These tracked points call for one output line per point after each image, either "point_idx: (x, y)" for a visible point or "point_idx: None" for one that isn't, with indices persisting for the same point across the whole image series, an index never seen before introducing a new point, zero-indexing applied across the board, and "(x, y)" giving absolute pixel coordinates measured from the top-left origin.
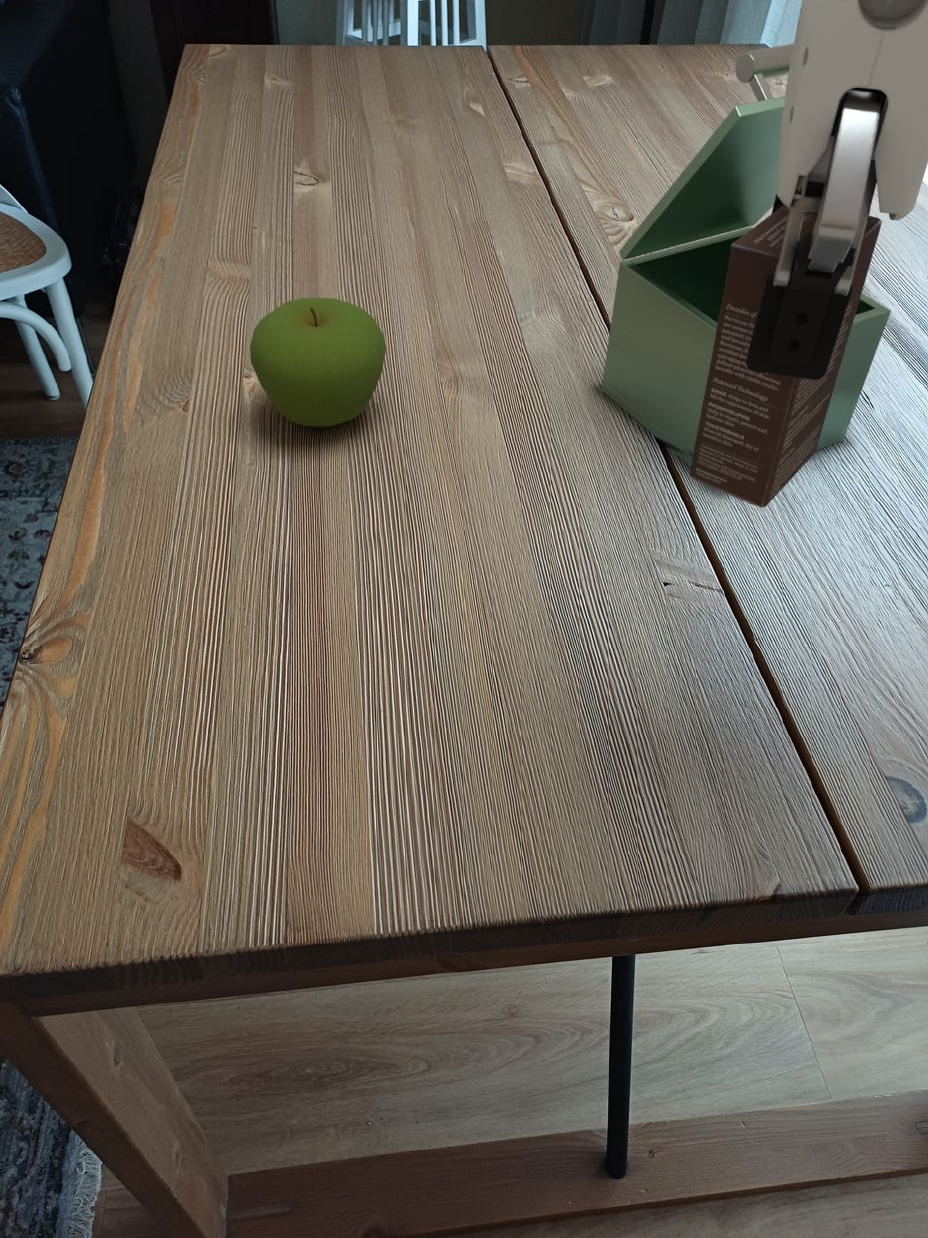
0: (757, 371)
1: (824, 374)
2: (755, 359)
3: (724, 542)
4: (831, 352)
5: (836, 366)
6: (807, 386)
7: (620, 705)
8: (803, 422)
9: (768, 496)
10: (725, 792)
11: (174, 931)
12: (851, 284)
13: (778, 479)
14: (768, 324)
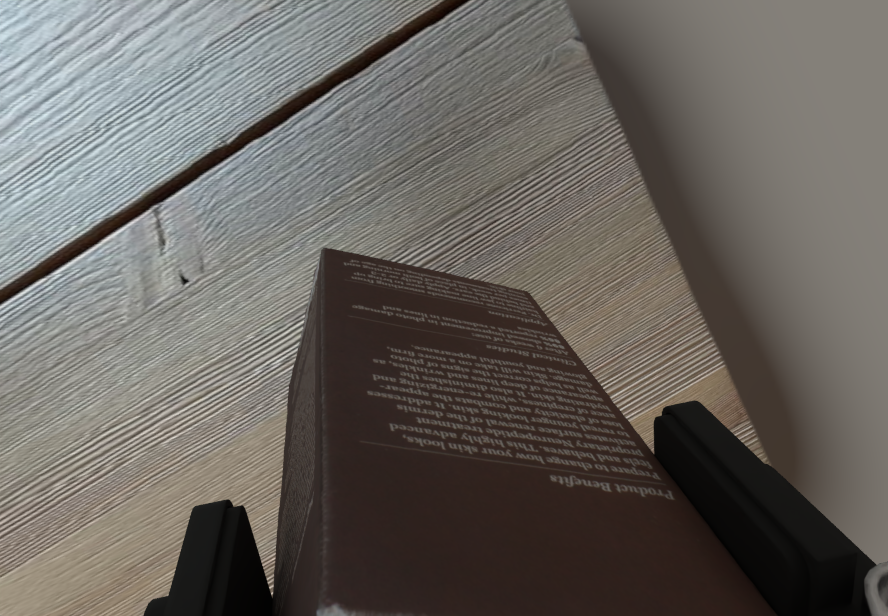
0: None
1: (698, 402)
2: None
3: (46, 231)
4: (729, 434)
5: (361, 338)
6: (550, 388)
7: (412, 265)
8: (482, 330)
9: (532, 299)
10: (482, 121)
11: None
12: (816, 562)
13: (516, 301)
14: None
